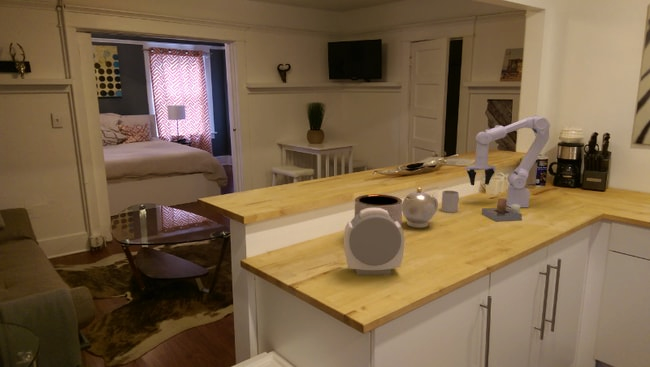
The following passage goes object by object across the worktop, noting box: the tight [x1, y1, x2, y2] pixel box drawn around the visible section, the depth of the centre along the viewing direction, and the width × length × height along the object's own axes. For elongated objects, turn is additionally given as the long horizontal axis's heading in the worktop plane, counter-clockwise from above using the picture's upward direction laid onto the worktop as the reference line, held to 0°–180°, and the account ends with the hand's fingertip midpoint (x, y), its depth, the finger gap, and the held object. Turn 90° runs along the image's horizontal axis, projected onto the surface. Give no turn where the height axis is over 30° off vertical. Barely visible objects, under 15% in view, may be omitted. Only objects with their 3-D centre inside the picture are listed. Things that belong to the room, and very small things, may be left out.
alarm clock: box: [343, 208, 406, 276], centre depth 136 cm, size 18×8×20 cm, turn 92°
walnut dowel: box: [496, 198, 507, 213], centre depth 196 cm, size 4×4×8 cm
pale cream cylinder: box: [510, 204, 521, 214], centre depth 201 cm, size 4×4×4 cm
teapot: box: [402, 186, 439, 229], centre depth 183 cm, size 18×14×16 cm
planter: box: [353, 193, 403, 228], centre depth 165 cm, size 18×18×16 cm
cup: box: [441, 190, 460, 214], centre depth 206 cm, size 7×10×9 cm
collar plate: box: [481, 206, 523, 222], centre depth 196 cm, size 12×12×2 cm
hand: (479, 184), depth 215 cm, fingers open, 7 cm apart
